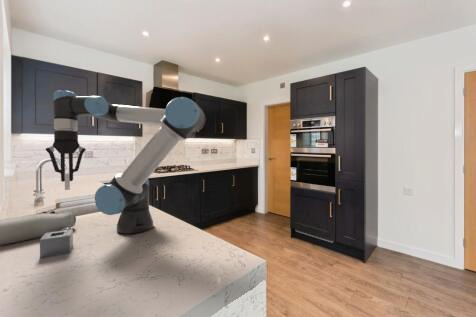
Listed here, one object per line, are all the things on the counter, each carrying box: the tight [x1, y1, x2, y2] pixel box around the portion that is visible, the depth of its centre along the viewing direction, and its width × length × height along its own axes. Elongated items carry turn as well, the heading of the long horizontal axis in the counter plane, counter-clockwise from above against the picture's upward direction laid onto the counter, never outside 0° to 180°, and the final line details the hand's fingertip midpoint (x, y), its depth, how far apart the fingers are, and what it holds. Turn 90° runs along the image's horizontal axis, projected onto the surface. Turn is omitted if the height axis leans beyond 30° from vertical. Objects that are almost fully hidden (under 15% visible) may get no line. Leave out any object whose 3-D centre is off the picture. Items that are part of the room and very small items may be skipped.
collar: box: [39, 228, 74, 258], centre depth 79 cm, size 8×8×6 cm
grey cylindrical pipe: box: [0, 211, 77, 246], centre depth 94 cm, size 10×10×28 cm
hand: (67, 189), depth 89 cm, fingers closed
